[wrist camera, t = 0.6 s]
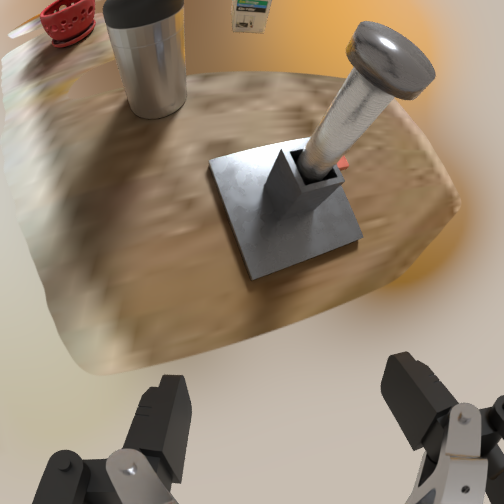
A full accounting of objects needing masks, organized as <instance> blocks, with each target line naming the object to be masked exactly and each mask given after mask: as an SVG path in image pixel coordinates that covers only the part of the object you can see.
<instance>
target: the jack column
mask: <svg viewBox="0 0 504 504" xmlns="http://www.w3.org/2000/svg"><path fill="white" fill-rule="evenodd" d="M346 54H347V57H348V59H349V61H350V62H351V64H352V65H353V66H354V67H353V69H352V71H351V73H350V74H349V76H348V77H347V79H346V80H345V82H344V84H343V85H342V87H341V89H340V90H339V92H338V94H337V95H336V97H335V98H334V100H333V102H332V103H331V105H330V107H329V108H328V110H327V112H326V113H325V115H324V116H323V118H322V120H321V121H320V123H319V125H318V126H317V128H316V130H315V131H314V133H313V135H312V136H311V138H310V140H309V141H308V143H307V144H306V146H305V148H304V149H303V151H302V153H301V154H300V156H299V158H298V159H297V161H296V163H295V165H296V167H297V169H298V171H299V174H300V176H301V178H302V180H303V182H304V184H305V186H306V185H309V184H313V183H317V182H321V181H322V179H323V178H324V177H325V176H326V175H327V174H328V173H329V172H330V170H331V169H332V168H333V167H334V166H335V165H336V164H337V162H338V161H339V160H340V159H341V158H342V157H343V156H344V154H345V153H346V152H347V151H348V150H349V149H350V148H351V147H352V145H353V144H354V143H355V142H356V141H357V140H358V139H359V137H360V136H361V135H362V134H363V133H364V132H365V131H366V129H367V128H368V127H369V126H370V125H371V124H372V123H373V121H374V120H375V119H376V118H377V117H378V116H379V115H380V113H381V112H382V111H383V110H384V109H385V108H386V107H387V105H388V104H389V103H390V102H391V101H392V100H393V99H394V97H396V98H399V99H403V100H414V99H415V98H417V97H418V95H419V94H420V93H421V92H422V91H423V90H424V89H425V88H426V87H427V86H428V85H429V84H430V83H431V82H432V81H433V80H434V78H435V70H434V68H433V66H432V64H431V63H430V61H429V60H428V58H427V57H426V56H425V55H424V53H423V52H422V51H421V50H420V49H419V48H418V47H417V46H415V45H414V44H413V43H412V42H411V41H410V40H408V39H407V38H406V37H404V36H402V35H401V34H399V33H398V32H396V31H394V30H393V29H391V28H389V27H387V26H384V25H381V24H379V23H375V22H370V21H364V22H361V23H360V24H359V25H358V27H357V29H356V31H355V33H354V34H353V36H352V38H351V40H350V42H349V44H348V45H347V47H346Z"/></svg>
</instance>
